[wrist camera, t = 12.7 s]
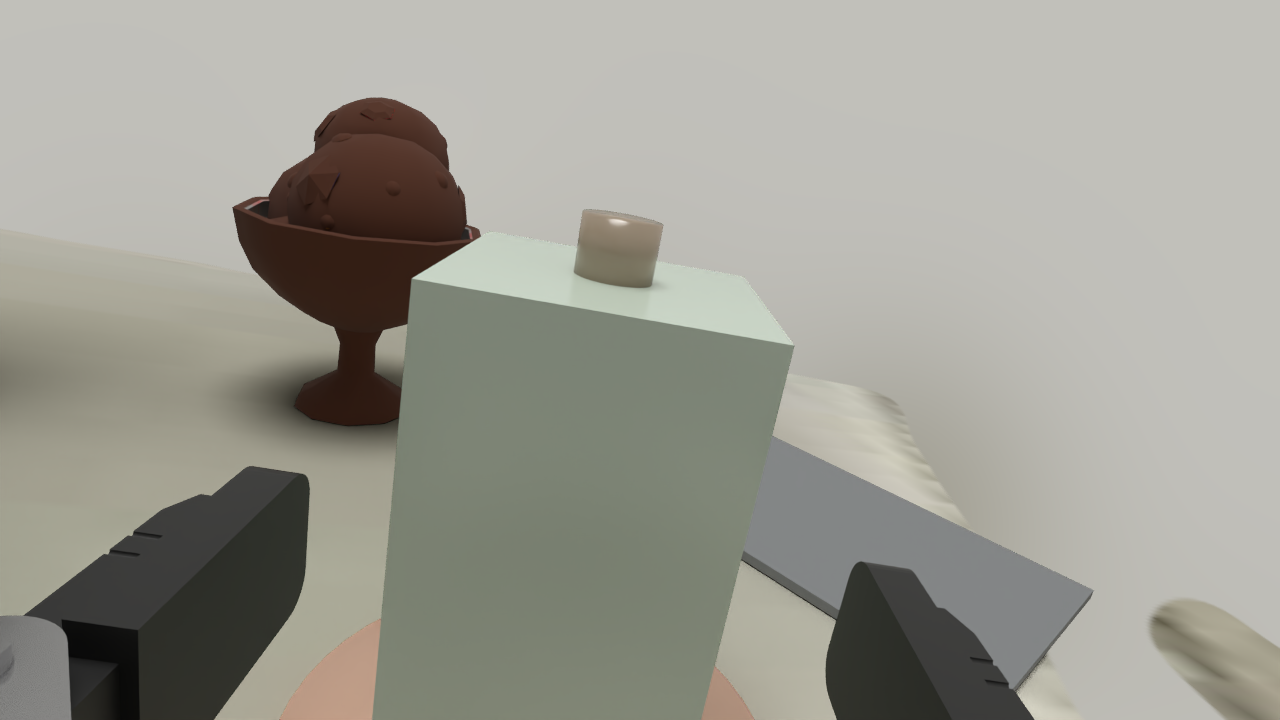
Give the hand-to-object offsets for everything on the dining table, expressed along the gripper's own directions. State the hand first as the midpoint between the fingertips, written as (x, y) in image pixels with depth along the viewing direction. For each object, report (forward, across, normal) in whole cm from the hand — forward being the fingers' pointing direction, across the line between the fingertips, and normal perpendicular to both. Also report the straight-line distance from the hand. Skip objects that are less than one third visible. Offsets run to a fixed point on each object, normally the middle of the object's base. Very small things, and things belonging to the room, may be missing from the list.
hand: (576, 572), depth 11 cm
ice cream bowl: (+26, +12, +9) cm, 30 cm away
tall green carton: (+5, 0, +8) cm, 10 cm away
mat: (+20, -12, +9) cm, 25 cm away
